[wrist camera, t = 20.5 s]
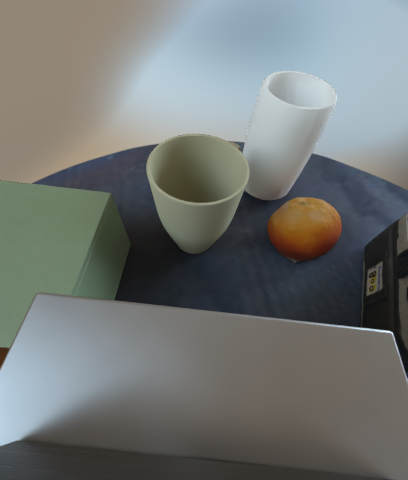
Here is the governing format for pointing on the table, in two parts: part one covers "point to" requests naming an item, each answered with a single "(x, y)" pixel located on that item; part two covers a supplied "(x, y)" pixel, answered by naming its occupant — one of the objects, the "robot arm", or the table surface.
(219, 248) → the table surface
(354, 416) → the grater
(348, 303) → the table surface
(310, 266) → the table surface
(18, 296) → the cabinet
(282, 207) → the fruit
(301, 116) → the cup
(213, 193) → the mug
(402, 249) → the camera
